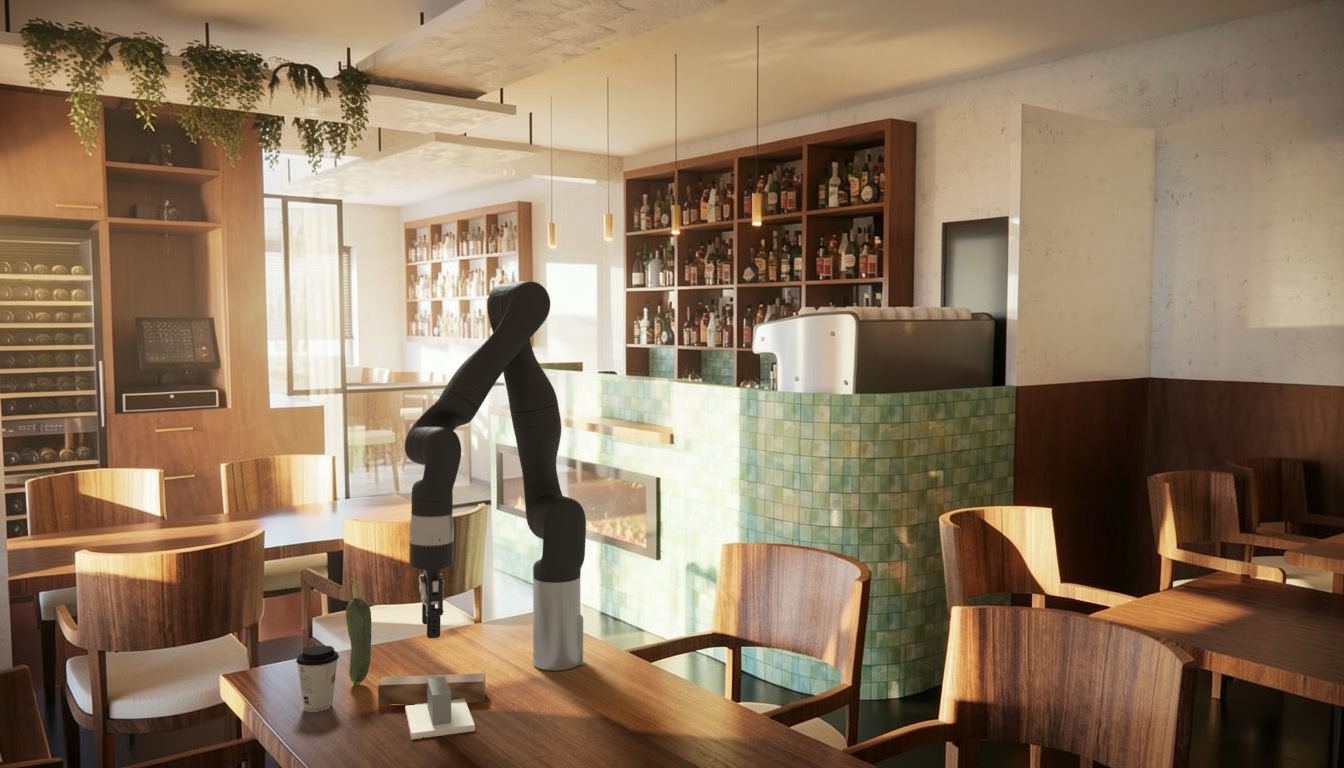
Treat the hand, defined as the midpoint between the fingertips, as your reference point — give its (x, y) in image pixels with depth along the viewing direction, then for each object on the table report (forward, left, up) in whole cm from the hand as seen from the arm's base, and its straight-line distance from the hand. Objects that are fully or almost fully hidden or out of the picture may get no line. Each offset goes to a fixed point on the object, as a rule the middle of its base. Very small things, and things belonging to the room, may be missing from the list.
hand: (430, 630), depth 167 cm
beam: (0, 0, -13) cm, 13 cm away
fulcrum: (0, +10, -12) cm, 16 cm away
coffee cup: (+19, -3, -13) cm, 23 cm away
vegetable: (+12, -11, -13) cm, 20 cm away
